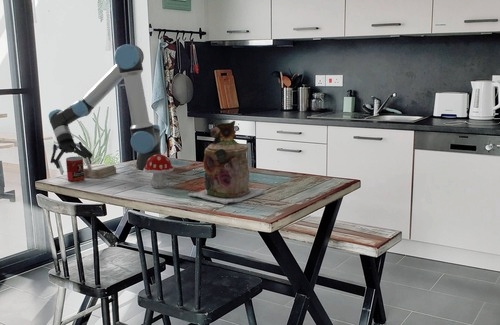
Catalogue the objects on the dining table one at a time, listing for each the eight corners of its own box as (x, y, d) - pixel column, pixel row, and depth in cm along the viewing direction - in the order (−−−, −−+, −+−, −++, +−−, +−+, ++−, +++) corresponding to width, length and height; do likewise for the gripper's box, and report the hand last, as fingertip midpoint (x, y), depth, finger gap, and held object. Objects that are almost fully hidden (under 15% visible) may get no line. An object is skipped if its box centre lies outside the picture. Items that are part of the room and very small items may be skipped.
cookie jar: (225, 186, 244) (223, 116, 237) (268, 194, 228) (267, 119, 222) (186, 197, 225) (183, 121, 219) (229, 206, 210) (228, 125, 203)
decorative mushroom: (157, 182, 252) (155, 150, 249) (181, 185, 246) (179, 153, 243) (137, 188, 240) (135, 155, 237) (162, 191, 234) (161, 158, 231)
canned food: (74, 182, 253) (72, 160, 251) (64, 180, 258) (62, 158, 256) (87, 179, 259) (86, 157, 257) (77, 177, 264) (76, 155, 262)
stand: (116, 172, 275) (115, 165, 274) (98, 178, 262) (98, 170, 261) (94, 170, 280) (93, 163, 279) (76, 176, 267) (75, 168, 267)
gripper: (86, 139, 275) (100, 172, 266) (36, 144, 260) (49, 179, 251) (90, 129, 270) (103, 163, 261) (39, 134, 255) (51, 170, 246)
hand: (76, 171), depth 256 cm, fingers open, 13 cm apart
